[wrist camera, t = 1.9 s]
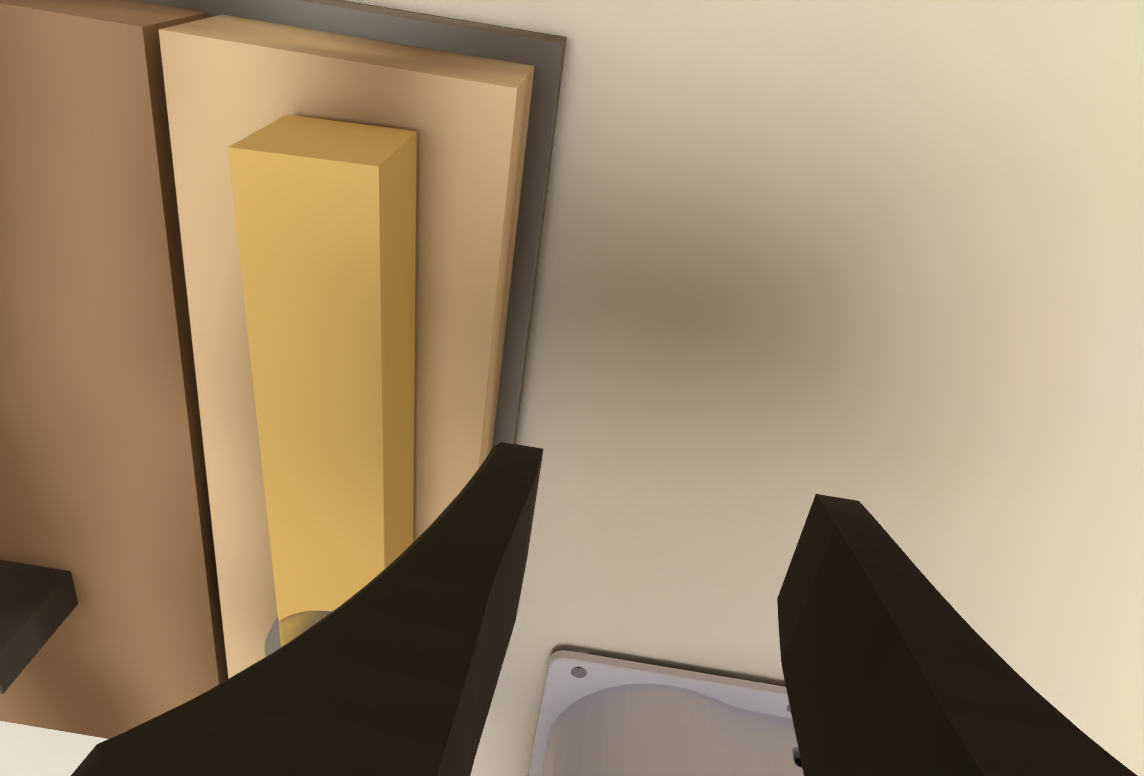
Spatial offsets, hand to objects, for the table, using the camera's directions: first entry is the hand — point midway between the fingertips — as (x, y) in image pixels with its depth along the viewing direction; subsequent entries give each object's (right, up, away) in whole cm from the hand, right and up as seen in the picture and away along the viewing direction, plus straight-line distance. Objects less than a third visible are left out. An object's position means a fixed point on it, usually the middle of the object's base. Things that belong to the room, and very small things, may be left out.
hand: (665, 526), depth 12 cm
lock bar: (-6, +1, +6) cm, 9 cm away
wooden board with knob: (-11, +1, +11) cm, 16 cm away
